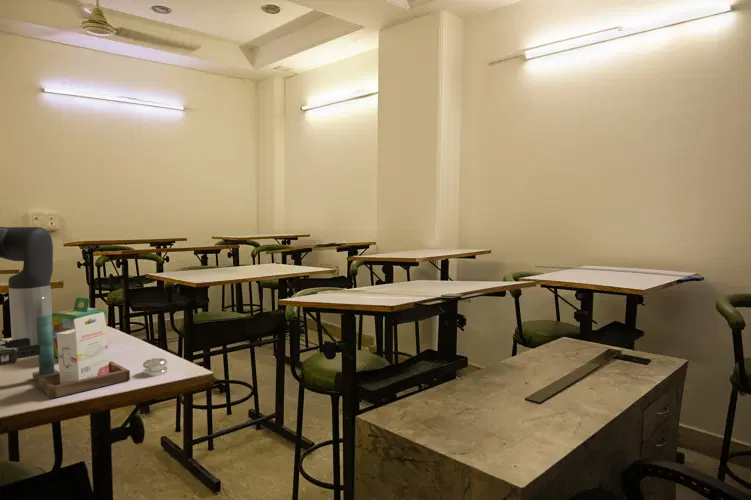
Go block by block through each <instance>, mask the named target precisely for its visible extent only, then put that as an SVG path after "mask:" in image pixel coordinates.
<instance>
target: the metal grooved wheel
mask: <svg viewBox="0 0 751 500" xmlns="http://www.w3.org/2000/svg"><path fill="white" fill-rule="evenodd" d="M167 364H168V361H167V359H166V358H164V357H155V358H150V359H146V360H145V361H144V362H143V363H142V367H143V368H144V369H143V370H142V371H143V373H142V374H143V376H144V377H159V376H161V375H165V374H167V373H168V367H167V366H166V365H167Z"/></svg>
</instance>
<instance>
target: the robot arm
mask: <svg viewBox="0 0 751 500" xmlns="http://www.w3.org/2000/svg"><path fill="white" fill-rule="evenodd" d="M53 245H54V244H53V239H52V236H51V233H49V231H48V230H47V229H45V228H43V227H41V226H11V227H10V226H0V259H5V260H9V261H13V262H23V265H22V270H21V271H19V272H18V273H16V274H14V275H11V276H9V278H8V281H7V282H8V299H9V313H10V317H9V318H10V332H11V340H8V339H2V338H0V366H5V365H11V364H13V365H14V364H15V363H17V361H19V360H20V359H26V358H30V357H37V356H38V355H39V354H40V346H39V345H38V342H37V323H36V317H38V316H43V315H51V316H52V313H53V308H52V307H53V306H52V290H51V289H52V287H51V278H52V276H53V272H54V246H53ZM7 355H8V356H7Z"/></svg>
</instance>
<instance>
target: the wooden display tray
mask: <svg viewBox="0 0 751 500" xmlns="http://www.w3.org/2000/svg"><path fill="white" fill-rule="evenodd" d="M36 323H37V342H38V345H39V346H40V354H39V355H37V356H38V357H37V359H38V371H32V378H33V380H35V381H37V387H38V388H39V389H40V390H41V391H42V392H43V393H45V394H46V395H47V396H48V397H49V398H50V399H55V398H59V397H60V398H61V397H63V396H68V395H72V394H76V393H80V392H84V391H88V390H93V389H97V388H101V387H102V388H103V387H105V386H106V387H107V386H110V385H114V384H118V383H122V382H123V383H124V382H126V381H130V380H131V373H130V372H131V371H130V370H129V369H127V368H125V367H123V366H122V365H120V364H117V363H116V362H114V361H109V373H108V374H104V375H99V376H95V377H90V378H86V379H81V380H78V381H72V382H68V383H63V384H60V374H59V370H58V369H56V368H55V357H54V351H53V332H52V316H51V315H43V316H38V317H36Z"/></svg>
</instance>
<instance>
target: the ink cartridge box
mask: <svg viewBox="0 0 751 500" xmlns="http://www.w3.org/2000/svg"><path fill="white" fill-rule="evenodd" d="M89 319H91V320H95V322H94V323H91V324H87V325H85V322H87V321H88V320H89ZM74 327H75V329H72V330H69V331H65V332H61V333H57V345H58V357H57V358H58V372H59V374H60V383H59V384H63V383H68V382H72V381H78V380H81V379H86V378H90V377H95V376H99V375H104V374H108V373H110V372H109V362H110V361H109V347H108V345H109V344H108V343H109V342H108V325H107V326H106V322H105V315H104V313H103V312H101V313H98V314H93V315H89V316H84V317H81V318H76V319H74Z"/></svg>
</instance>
